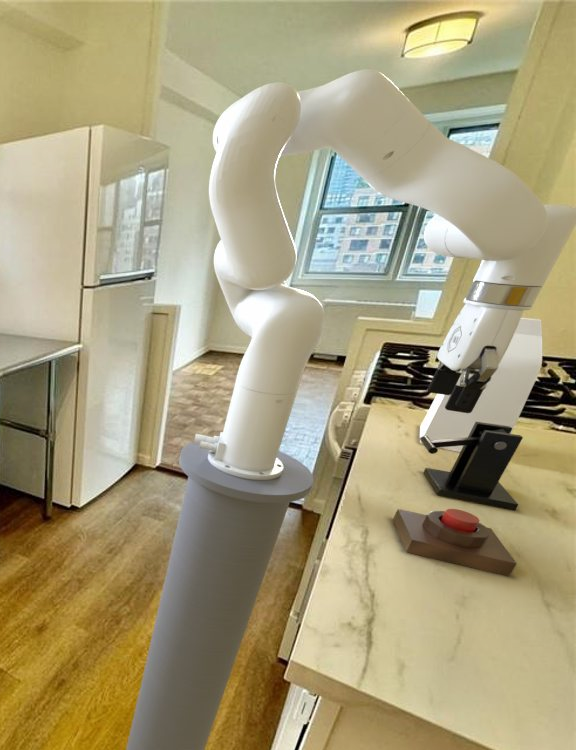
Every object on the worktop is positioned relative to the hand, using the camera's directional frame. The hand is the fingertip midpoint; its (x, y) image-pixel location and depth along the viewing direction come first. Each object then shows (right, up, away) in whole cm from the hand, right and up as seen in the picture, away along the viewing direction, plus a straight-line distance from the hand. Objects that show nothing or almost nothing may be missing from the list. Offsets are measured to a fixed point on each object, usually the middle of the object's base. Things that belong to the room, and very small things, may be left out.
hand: (447, 401), depth 81 cm
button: (-10, -19, -12) cm, 25 cm away
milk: (+23, -7, +22) cm, 32 cm away
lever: (+4, -8, +2) cm, 9 cm away
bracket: (+7, -15, +4) cm, 17 cm away
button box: (-10, -22, -10) cm, 27 cm away
